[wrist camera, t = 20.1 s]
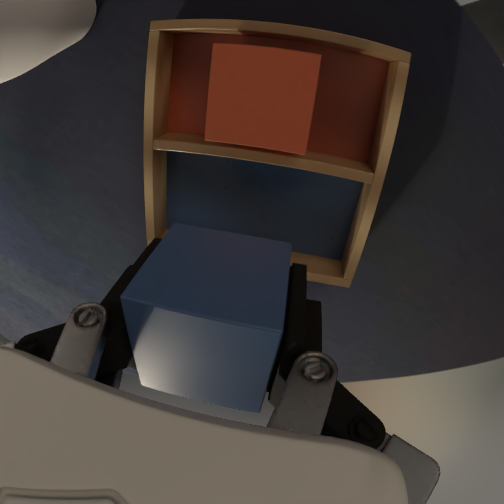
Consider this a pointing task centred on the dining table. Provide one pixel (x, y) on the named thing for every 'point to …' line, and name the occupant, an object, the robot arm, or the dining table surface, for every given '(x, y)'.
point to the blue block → (209, 315)
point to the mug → (39, 31)
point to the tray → (267, 160)
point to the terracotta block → (261, 96)
